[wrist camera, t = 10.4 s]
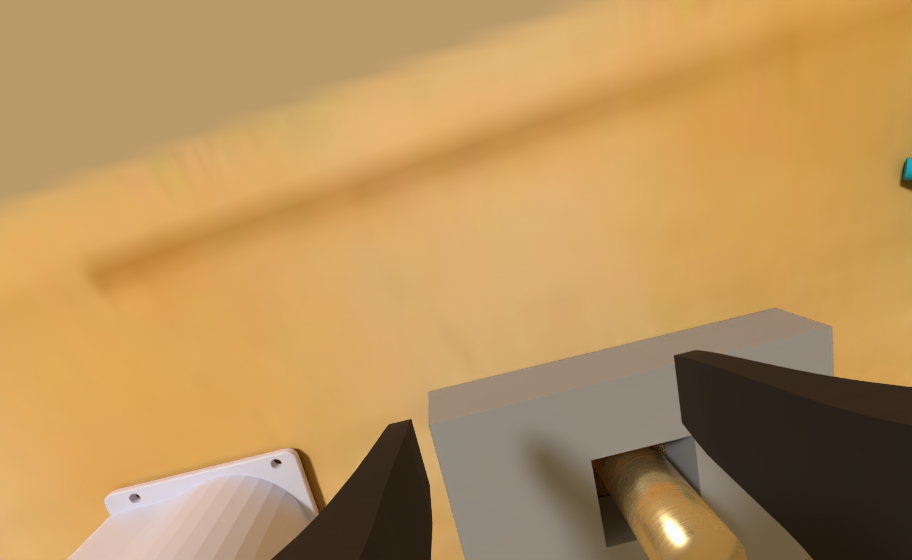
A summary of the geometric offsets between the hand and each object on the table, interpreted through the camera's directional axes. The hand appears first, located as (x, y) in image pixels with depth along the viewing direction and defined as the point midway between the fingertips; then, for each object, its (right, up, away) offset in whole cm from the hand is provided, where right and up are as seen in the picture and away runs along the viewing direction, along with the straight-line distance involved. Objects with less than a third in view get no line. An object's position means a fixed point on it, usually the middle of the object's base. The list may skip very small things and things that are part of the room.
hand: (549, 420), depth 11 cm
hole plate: (+6, -6, +11) cm, 14 cm away
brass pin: (+6, -5, +11) cm, 14 cm away
